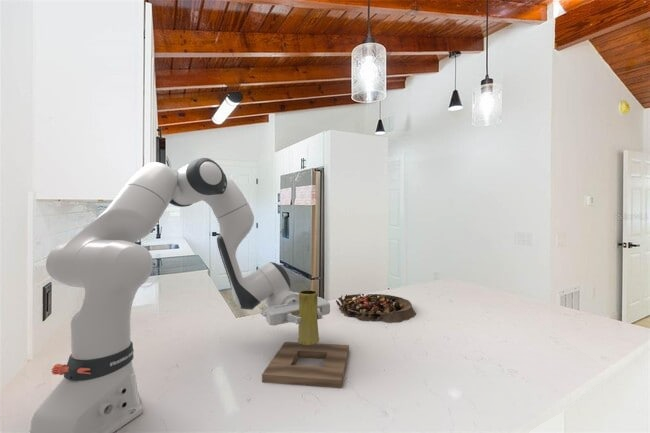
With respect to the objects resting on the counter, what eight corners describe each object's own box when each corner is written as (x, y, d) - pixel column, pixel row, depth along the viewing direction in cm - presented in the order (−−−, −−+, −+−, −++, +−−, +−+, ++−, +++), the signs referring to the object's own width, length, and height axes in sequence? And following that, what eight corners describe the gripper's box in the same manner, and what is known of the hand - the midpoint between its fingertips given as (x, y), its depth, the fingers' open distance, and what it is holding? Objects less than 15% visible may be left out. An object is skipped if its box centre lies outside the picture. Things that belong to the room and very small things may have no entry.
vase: (316, 346, 89) (315, 295, 89) (295, 344, 90) (294, 294, 90) (321, 337, 95) (320, 289, 95) (301, 336, 96) (300, 288, 96)
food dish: (320, 312, 145) (320, 294, 145) (370, 299, 166) (370, 284, 166) (381, 331, 118) (380, 309, 118) (431, 312, 139) (430, 294, 139)
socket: (341, 387, 81) (341, 380, 81) (262, 381, 84) (261, 374, 84) (349, 351, 102) (349, 345, 102) (285, 347, 105) (284, 341, 105)
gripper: (258, 301, 98) (275, 314, 87) (317, 292, 109) (339, 302, 97) (259, 322, 99) (276, 337, 87) (317, 310, 109) (339, 322, 97)
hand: (310, 318), depth 92 cm, fingers closed on vase, 5 cm apart
